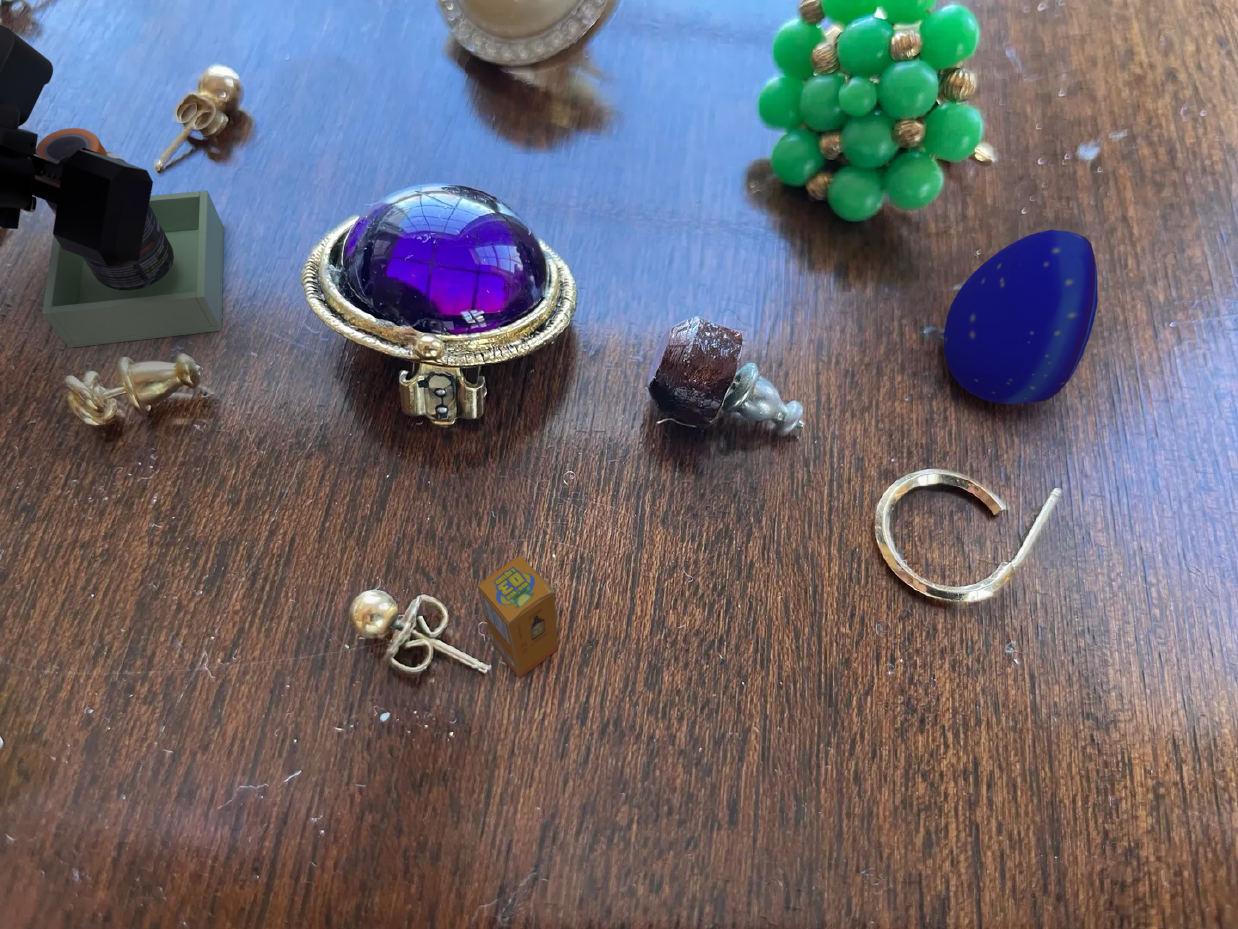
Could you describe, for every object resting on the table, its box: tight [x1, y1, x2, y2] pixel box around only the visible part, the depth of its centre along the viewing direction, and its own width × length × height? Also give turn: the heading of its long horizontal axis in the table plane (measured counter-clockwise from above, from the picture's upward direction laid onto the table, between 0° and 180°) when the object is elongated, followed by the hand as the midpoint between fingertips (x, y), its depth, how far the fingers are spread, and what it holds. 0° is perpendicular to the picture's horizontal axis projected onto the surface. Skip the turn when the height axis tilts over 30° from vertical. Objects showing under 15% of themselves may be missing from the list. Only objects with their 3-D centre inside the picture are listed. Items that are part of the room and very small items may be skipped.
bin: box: [41, 190, 225, 349], centre depth 69 cm, size 11×11×4 cm
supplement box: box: [477, 555, 559, 678], centre depth 53 cm, size 3×3×10 cm
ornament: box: [943, 229, 1099, 405], centre depth 65 cm, size 11×9×15 cm
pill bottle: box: [36, 127, 174, 290], centre depth 63 cm, size 6×6×11 cm
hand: (110, 187), depth 63 cm, fingers closed on pill bottle, 6 cm apart
